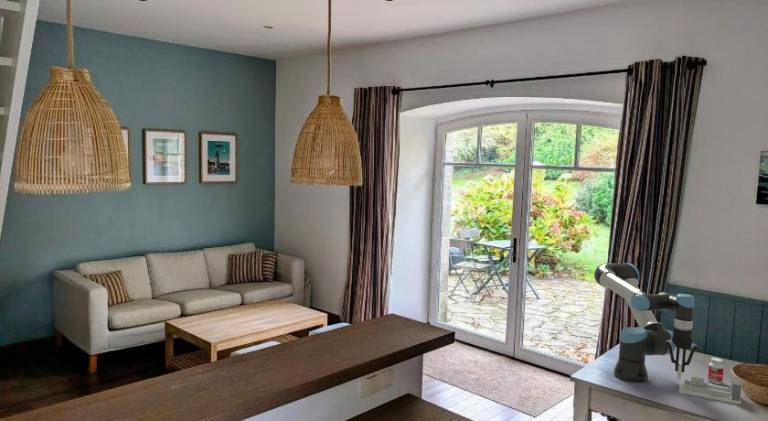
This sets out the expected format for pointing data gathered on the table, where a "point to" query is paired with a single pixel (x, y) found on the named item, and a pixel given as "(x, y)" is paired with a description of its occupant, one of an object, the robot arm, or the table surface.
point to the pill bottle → (715, 371)
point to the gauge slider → (698, 380)
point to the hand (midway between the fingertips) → (679, 378)
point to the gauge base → (714, 391)
